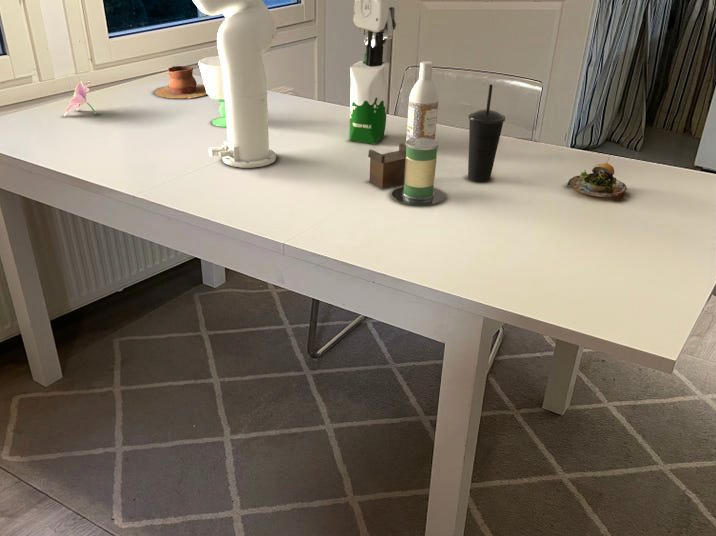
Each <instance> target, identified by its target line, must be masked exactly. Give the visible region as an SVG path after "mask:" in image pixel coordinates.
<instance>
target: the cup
mask: <svg viewBox="0 0 716 536" xmlns="http://www.w3.org/2000/svg"><path fill="white" fill-rule="evenodd" d="M198 66H199V70H200V74H201V77H202V81H203V85H205V88H206V92H207V94H206V95H208V96H209V97H210V98H211V99H212V100H214V101H217V102H220V103H221V104H220V106H219V113H220V115H221V116H222V117H218V118H215V119H213V120H212V124H213V126H216V127H221V128H227V121H226V107H225V94H224V83H223V73H222V66H221V61H220V57H219V55H213V56H209V57H204V58H201V59H199V61H198Z"/></svg>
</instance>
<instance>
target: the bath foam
mask: <svg viewBox="0 0 716 536" xmlns="http://www.w3.org/2000/svg"><path fill="white" fill-rule="evenodd" d="M433 67H434V64H433V62H432V61H428V60H423V61H421V62H420V63H419V72H418V73H419V74H418V80H417V81H416V82H415V83H414V85H413V87H412V89H411V91H410V93H409V98H408V108H407V109H408V111H407V124H406V125H407V126H406V140H405V142H406V141H407V140H409V139H412V138H429V139H433V140H436V131H437V122H438V109H439V108H438V107H439V93H438V89H437V87H436V85H435V83H434V81H433V78H432V77H433Z"/></svg>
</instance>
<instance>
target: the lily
mask: <svg viewBox="0 0 716 536" xmlns="http://www.w3.org/2000/svg"><path fill="white" fill-rule="evenodd" d="M92 80H93V78H90V79H89V80H88V81H87V82H86V83H85V84H83V82H82V79H79V81H78V82H77V84H76V86H75V88H74V93H73V94H72V98H70V100H69V101H68V106H67V107H66V109H65V112H64V115H63V117H65V116H66V115H67V114H68V113H69V112H70V111H71V109H73V108H75V110H76V111H77V112H78V111H79V110H80V109H79V108H80V106H81V105H84V104H87V105H88V106H89V107H90V108H91V110H92V111H93V112H94V113H95V115H96V116H97V115H98V113H97V111H95V109H94V108H93V106H92V105H91V104H90V103H89V102H88V100H87V93H89V91H90V88H88V87H89V85H90V83H91V81H92Z"/></svg>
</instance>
